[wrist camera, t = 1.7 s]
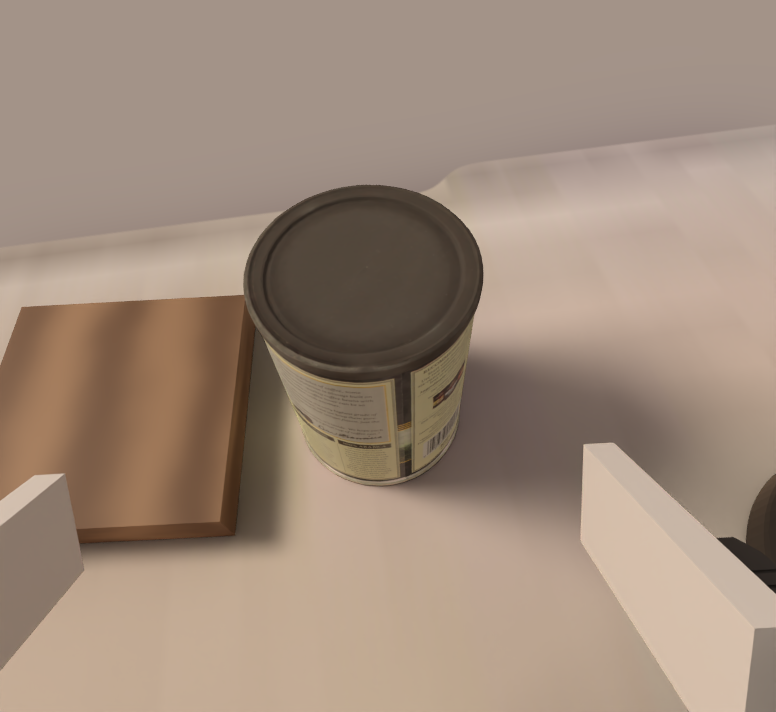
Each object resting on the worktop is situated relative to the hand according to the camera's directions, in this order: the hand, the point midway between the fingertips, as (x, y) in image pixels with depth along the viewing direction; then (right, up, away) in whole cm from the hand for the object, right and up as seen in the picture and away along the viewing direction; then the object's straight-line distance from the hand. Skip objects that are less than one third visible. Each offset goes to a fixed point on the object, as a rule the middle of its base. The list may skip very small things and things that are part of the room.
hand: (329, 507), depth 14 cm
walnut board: (-15, 0, +22) cm, 27 cm away
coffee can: (+1, 0, +22) cm, 22 cm away
